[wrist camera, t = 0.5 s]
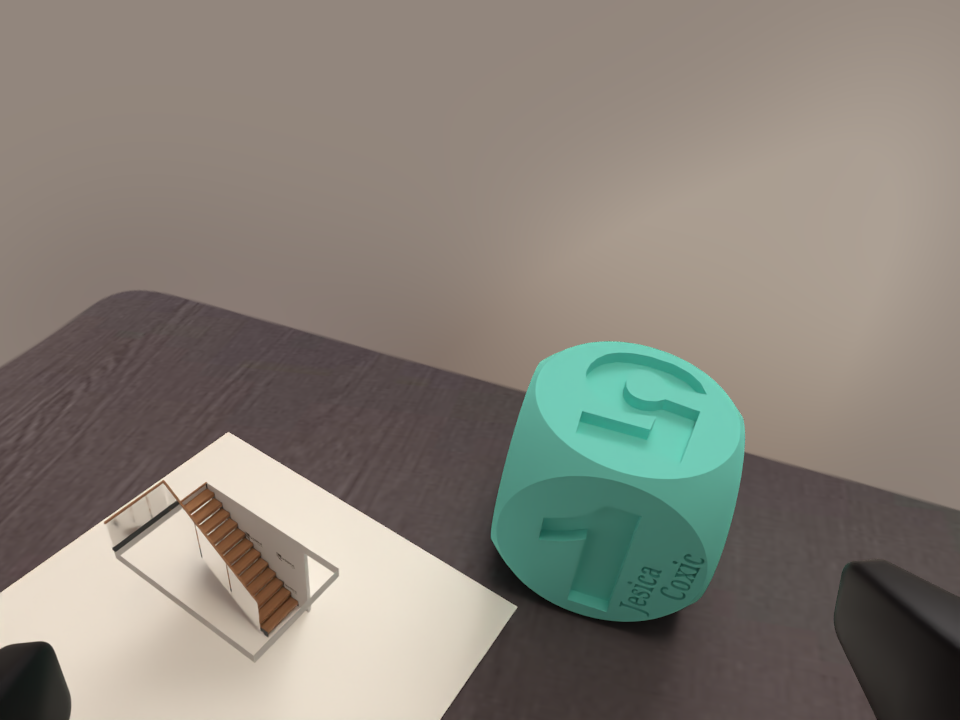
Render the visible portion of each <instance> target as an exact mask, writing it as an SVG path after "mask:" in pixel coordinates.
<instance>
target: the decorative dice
mask: <svg viewBox="0 0 960 720" xmlns="http://www.w3.org/2000/svg"><path fill="white" fill-rule="evenodd" d="M744 447H745V427H744V421H743V417H742V415H741V414H740V412H739V411H738V409H737V408H736V406H735V405H734V403H733V402H732V400H731V399H730V398H729V396H728V395H727V394H726V393H725V391H724V390H723V389H722V388H721V387H720V386H719V385H718V384H717V383H716V382H715V381H714V380H713V379H712V378H711V377H709V376H708V375H707V374H706V373H704V372H703V371H701V370H700V369H698V368H697V367H695V366H694V365H692V364H690V363H689V362H687V361H685V360H683V359H681V358H678V357H676V356H674V355H672V354H669V353H667V352H664V351H661V350H658V349H655V348H651V347H648V346H644V345H639V344H633V343H626V342H610V341H609V342H608V341H606V342H592V343H586V344H581V345H578V346H574V347H571V348H568V349H566V350H563V351H561V352H558V353H556V354H553V355H552V356H550V357H548V358H546V359H544V360H543V361H541V362H540V363H539V364H538V366H537V368H536V370H535V372H534V374H533V377H532V379H531V382H530V385H529V387H528V390H527V393H526V396H525V398H524V401H523V404H522V407H521V411H520V414H519V417H518V420H517V423H516V427H515V430H514V433H513V437H512V440H511V444H510V447H509V451H508V455H507V458H506V462H505V466H504V470H503V474H502V478H501V482H500V486H499V490H498V495H497V499H496V504H495V509H494V515H493V521H492V528H491V540H492V541H493V543H494V545H495V547H496V548H497V550H498V552H499V554H500V555H501V557H502V558H503V560H504V561H505V563H506V564H507V565H508V566H509V568H510V569H511V570H512V571H513V572H514V574H515V575H516V576H517V577H518V578H519V579H520V580H521V581H522V582H523V583H524V584H525V585H527V586H528V587H529V588H530V589H531V590H533V591H534V592H535V593H537V594H538V595H540V596H541V597H543V598H545V599H546V600H548V601H550V602H552V603H554V604H556V605H558V606H560V607H562V608H564V609H567V610H569V611H572V612H575V613H578V614H581V615H584V616H588V617H592V618H597V619H602V620H610V621H622V622H633V621H645V620H651V619H656V618H660V617H663V616H666V615H669V614H672V613H674V612H677V611H679V610H681V609H683V608H685V607H687V606H689V605H691V604H693V603H695V602H696V601H698V600H699V599H700V598H701V596H702V595H703V594H704V592H705V591H706V589H707V587H708V585H709V583H710V581H711V579H712V577H713V575H714V572H715V570H716V567H717V565H718V562H719V560H720V557H721V554H722V551H723V548H724V545H725V542H726V539H727V535H728V532H729V528H730V525H731V521H732V517H733V513H734V509H735V505H736V500H737V495H738V490H739V485H740V480H741V473H742V467H743V459H744Z"/></svg>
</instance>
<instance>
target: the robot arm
mask: <svg viewBox="0 0 960 720" xmlns="http://www.w3.org/2000/svg"><path fill="white" fill-rule="evenodd" d="M834 626H835V631H836V634H837V637H838V639H839V641H840V643H841V645H842V648H843V650H844V652H845V654H846V656H847V658H848V660H849V662H850V664H851V666H852V668H853V670H854V672H855V675H856V677H857V679H858V681H859V683H860V685H861V687H862V689H863V691H864V693H865V695H866V697H867V699H868V702H869V704H870V706H871V708H872V710H873V712H874V714H875V716H876V718H877V720H960V597H958V596H956V595H954V594H952V593H950V592H948V591H946V590H944V589H942V588H940V587H938V586H936V585H934V584H932V583H930V582H928V581H926V580H924V579H922V578H920V577H918V576H916V575H914V574H912V573H910V572H908V571H906V570H904V569H902V568H900V567H898V566H896V565H894V564H892V563H890V562H888V561H886V560H882V559H871V560H861V561H852V562H850V563H848V564H847V565H846V566H845V567H844V569H843V571H842V575H841V581H840V586H839V591H838V596H837V601H836V606H835V612H834ZM70 715H71V696H70V692H69V689H68V686H67V683H66V681H65V678H64V675H63V672H62V670H61V667H60V664H59V661H58V659H57V656H56V653H55V651H54V649H53V647H52V646H51V645H50V644H49V643H47V642H44V641H36V642H26V643H16V644H11V645H7V646H5V647H3V648H1V649H0V720H69V719H70Z"/></svg>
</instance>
